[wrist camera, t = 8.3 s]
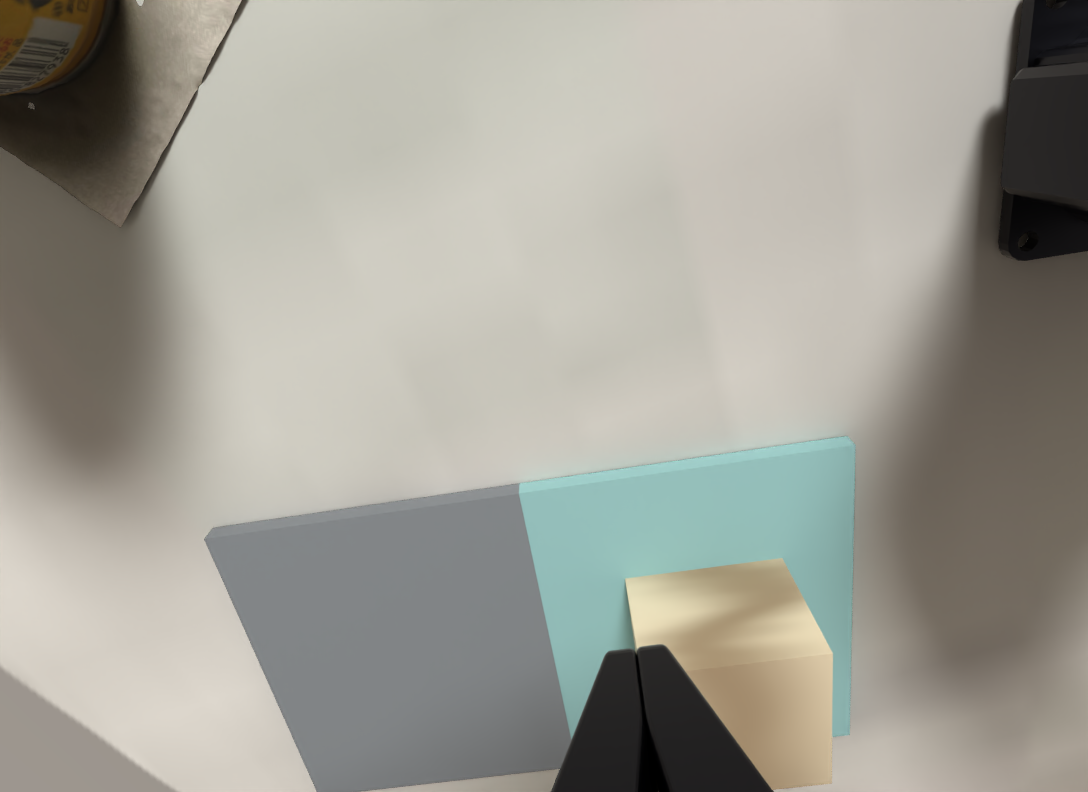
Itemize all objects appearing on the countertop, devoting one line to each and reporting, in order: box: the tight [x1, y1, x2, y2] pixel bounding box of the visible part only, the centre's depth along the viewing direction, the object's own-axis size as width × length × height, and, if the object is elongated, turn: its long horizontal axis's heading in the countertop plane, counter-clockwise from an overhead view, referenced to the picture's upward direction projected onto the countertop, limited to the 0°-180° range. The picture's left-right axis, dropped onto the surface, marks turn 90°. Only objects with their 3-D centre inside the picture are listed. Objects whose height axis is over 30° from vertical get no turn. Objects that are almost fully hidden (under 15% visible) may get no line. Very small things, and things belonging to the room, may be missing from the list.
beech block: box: [625, 558, 833, 790], centre depth 20 cm, size 5×5×4 cm
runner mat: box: [204, 436, 855, 792], centre depth 22 cm, size 20×12×1 cm, turn 100°
